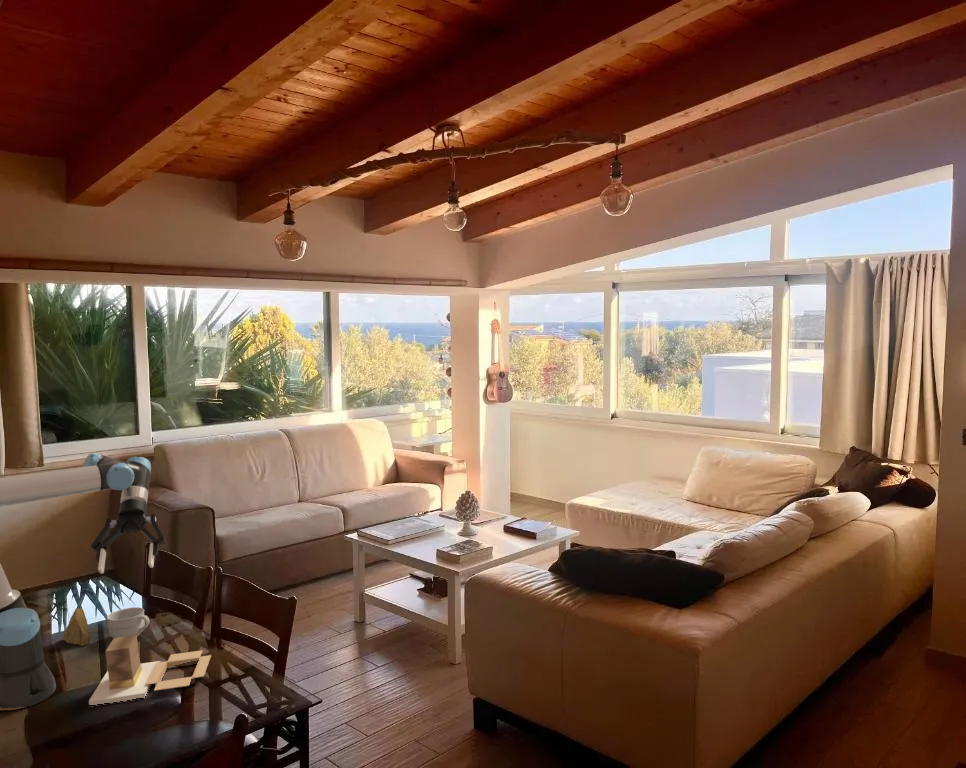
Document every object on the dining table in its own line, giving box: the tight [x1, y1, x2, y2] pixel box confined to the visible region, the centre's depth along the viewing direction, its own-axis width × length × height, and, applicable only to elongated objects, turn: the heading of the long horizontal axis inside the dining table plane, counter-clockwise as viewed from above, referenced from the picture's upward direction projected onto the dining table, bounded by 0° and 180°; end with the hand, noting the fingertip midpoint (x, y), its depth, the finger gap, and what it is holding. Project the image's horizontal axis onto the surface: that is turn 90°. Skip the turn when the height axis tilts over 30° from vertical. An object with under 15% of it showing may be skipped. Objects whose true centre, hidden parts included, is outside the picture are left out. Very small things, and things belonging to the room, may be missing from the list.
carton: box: [146, 650, 212, 691], centre depth 212 cm, size 15×20×2 cm
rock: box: [62, 607, 91, 646], centre depth 237 cm, size 11×9×10 cm
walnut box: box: [105, 635, 142, 690], centre depth 208 cm, size 6×8×11 cm
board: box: [88, 660, 161, 706], centre depth 208 cm, size 14×18×2 cm
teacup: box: [106, 607, 151, 639], centre depth 238 cm, size 14×11×8 cm
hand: (125, 568), depth 216 cm, fingers open, 13 cm apart
